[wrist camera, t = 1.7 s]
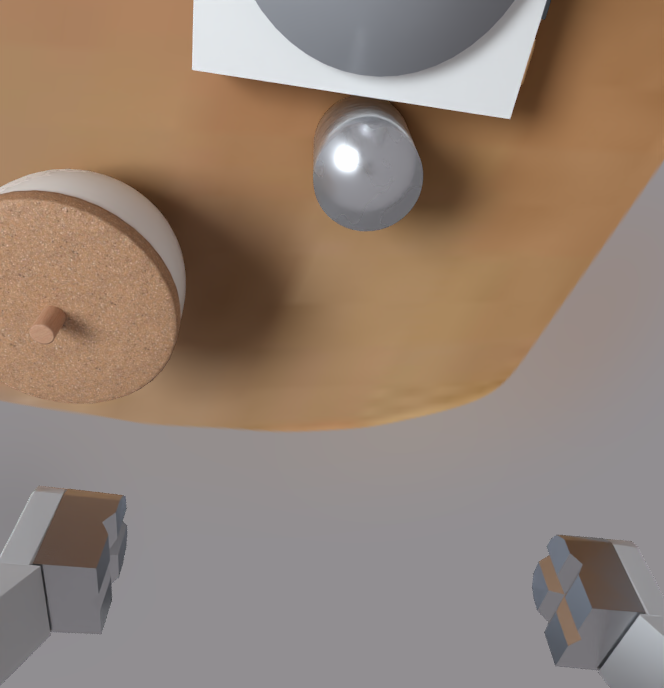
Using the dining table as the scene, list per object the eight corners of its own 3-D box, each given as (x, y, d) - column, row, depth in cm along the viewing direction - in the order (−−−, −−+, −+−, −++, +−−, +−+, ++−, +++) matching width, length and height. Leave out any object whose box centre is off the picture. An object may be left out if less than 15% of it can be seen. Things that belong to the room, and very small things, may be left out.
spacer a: (320, 87, 30) (321, 116, 26) (418, 102, 30) (434, 133, 26) (307, 183, 33) (306, 223, 29) (398, 195, 33) (409, 237, 29)
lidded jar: (-45, 192, 33) (-157, 281, 25) (127, 101, 30) (63, 169, 22) (84, 344, 38) (26, 455, 31) (238, 278, 36) (217, 381, 28)
